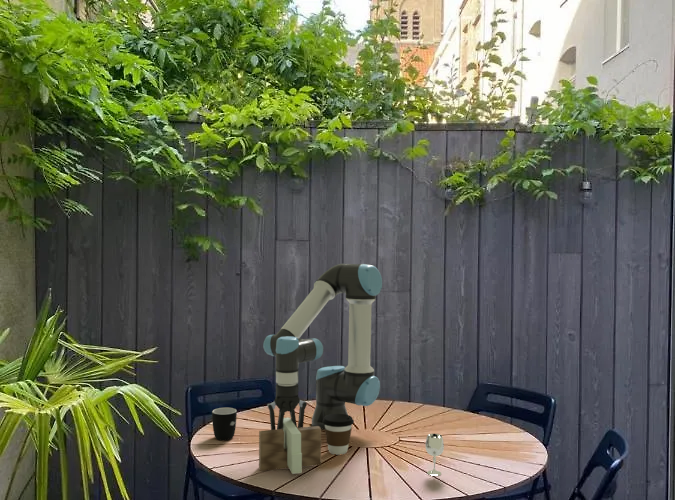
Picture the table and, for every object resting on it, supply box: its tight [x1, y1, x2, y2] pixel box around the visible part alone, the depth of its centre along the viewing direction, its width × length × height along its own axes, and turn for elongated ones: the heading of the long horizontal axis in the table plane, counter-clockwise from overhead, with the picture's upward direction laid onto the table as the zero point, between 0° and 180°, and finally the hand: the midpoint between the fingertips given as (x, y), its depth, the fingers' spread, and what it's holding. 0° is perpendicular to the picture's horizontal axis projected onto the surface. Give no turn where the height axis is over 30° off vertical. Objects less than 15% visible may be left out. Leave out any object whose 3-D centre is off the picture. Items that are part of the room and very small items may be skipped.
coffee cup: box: [323, 414, 355, 456], centre depth 214 cm, size 11×11×12 cm
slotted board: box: [258, 426, 322, 472], centre depth 200 cm, size 20×3×12 cm, turn 106°
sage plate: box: [282, 417, 303, 475], centre depth 200 cm, size 3×20×12 cm, turn 16°
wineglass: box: [424, 433, 445, 477], centre depth 195 cm, size 6×6×12 cm
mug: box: [211, 407, 238, 441], centre depth 229 cm, size 12×9×10 cm
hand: (286, 453), depth 205 cm, fingers closed on sage plate, 3 cm apart
